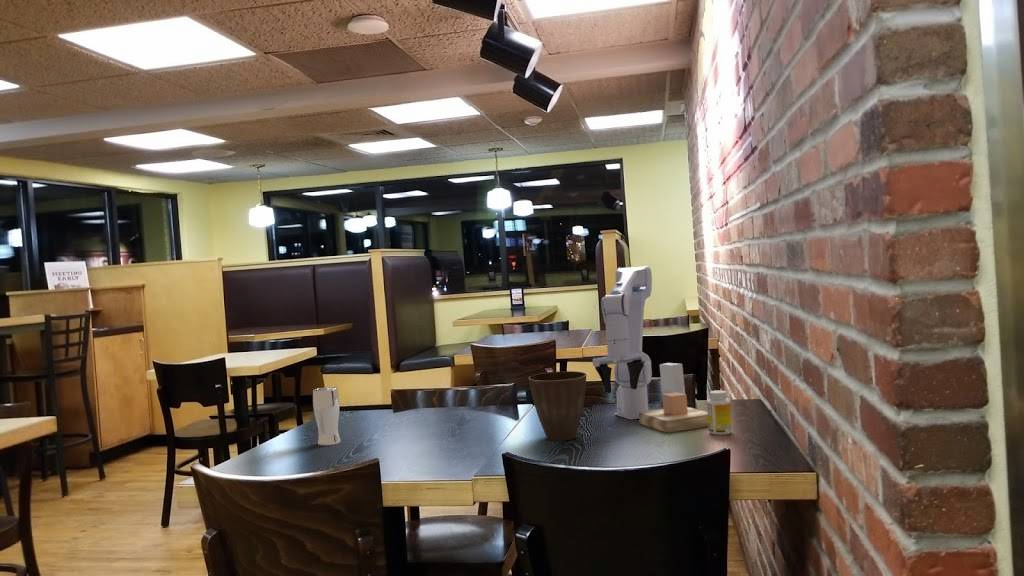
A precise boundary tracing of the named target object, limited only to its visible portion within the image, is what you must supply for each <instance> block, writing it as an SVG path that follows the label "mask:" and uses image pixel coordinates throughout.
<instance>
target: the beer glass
mask: <svg viewBox="0 0 1024 576" xmlns="http://www.w3.org/2000/svg"><path fill="white" fill-rule="evenodd" d="M312 407H313V414H314V416H315V417H314V418H315V422H316V424H317V425H316V426H317V431H318V437H317V438H318V440H317V444H318V446H322V447H323V446H334V445H337V444H340V443H341V437H340V433H339V419H340V397H339V390H338V387H337V386H327V387H325V386H324V387H318V388H314V389H313V390H312Z"/></svg>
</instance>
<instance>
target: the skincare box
mask: <svg viewBox="0 0 1024 576" xmlns="http://www.w3.org/2000/svg"><path fill="white" fill-rule="evenodd" d="M659 372H660V373H659V374H660V382H661V393H662V394H668V393H675V392H678V393H683V394H686V390H685V389H686V387H685V377H684V367H683V363H677V362H675V363H673V362H666V363H660V364H659Z"/></svg>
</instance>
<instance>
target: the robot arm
mask: <svg viewBox="0 0 1024 576" xmlns="http://www.w3.org/2000/svg"><path fill="white" fill-rule="evenodd" d="M652 282H653V277H652V269H651V267H649V265H645V266H634V267H633V266H632V267H618V268H617V269H616V271H615V283H614V284H613V286H612V288H611V289H610V291H609V293H608V294H605V296H603V297H602V298H601V303H600V306H601V313H602V317H603V323H604V324H605V334H606V335H605V336H606V347H607V348H606V350H607V356H601V357H597V358H596V357H595V358H592V366H593V367H594V369H595V371H596V372H597V373H598V376H599V377H600V380H601V382H602V385H603V388H604V391H605V393H608V394H610V393H612V379H611V378H612V369H613V377H614V380H615V382H616V383H617V384H618V385H619V386H618V387H617V390H616V392H615V393H616V394H615V395H616V409H617V410H616V411H617V412H614V415H616V416H619V417H621V418H624V419H628V420H637V419H639V412H645V411H649V399H648V386H647V385H648V384H650V383H651V381H652V376H653V371H652V360H651V358H650V356H649V355H648V354H647V353H645V352H643V334H644V333H643V332H644V317H645V316H644V315H645V314H644V313H645V304H646V300H647V299H648V298H649V297H651V293H652V288H653V283H652ZM610 365H613V366H614V367H611V366H610ZM609 366H610V367H609Z"/></svg>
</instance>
